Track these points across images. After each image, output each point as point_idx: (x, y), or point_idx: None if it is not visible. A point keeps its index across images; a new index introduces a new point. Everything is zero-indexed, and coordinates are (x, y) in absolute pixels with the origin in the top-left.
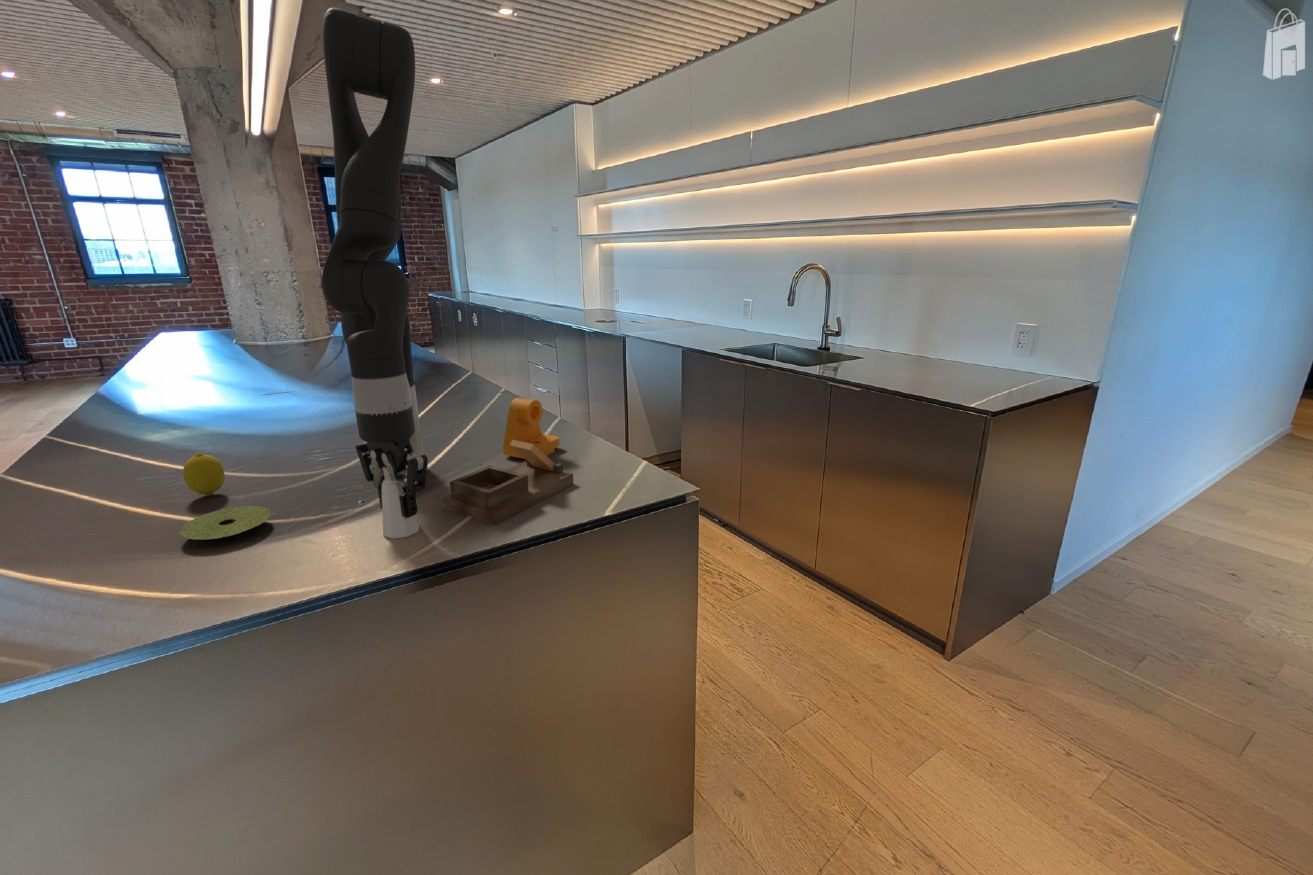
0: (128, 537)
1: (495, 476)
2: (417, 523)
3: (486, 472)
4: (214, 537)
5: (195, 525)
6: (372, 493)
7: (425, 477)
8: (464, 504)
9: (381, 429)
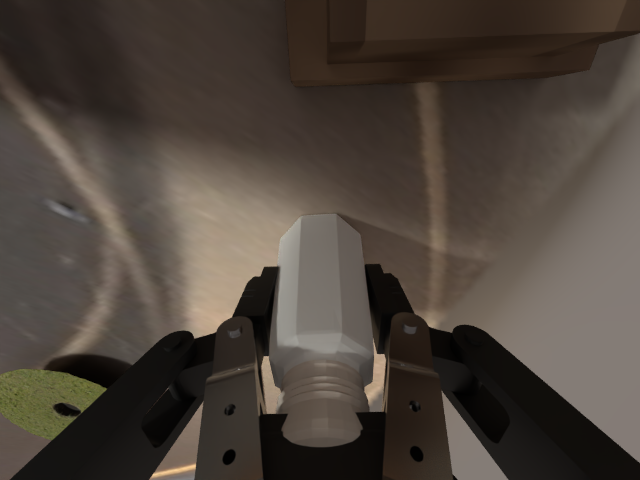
0: (21, 441)
1: None
2: (351, 233)
3: None
4: None
5: (56, 433)
6: (4, 152)
7: (549, 391)
8: (417, 76)
9: None
